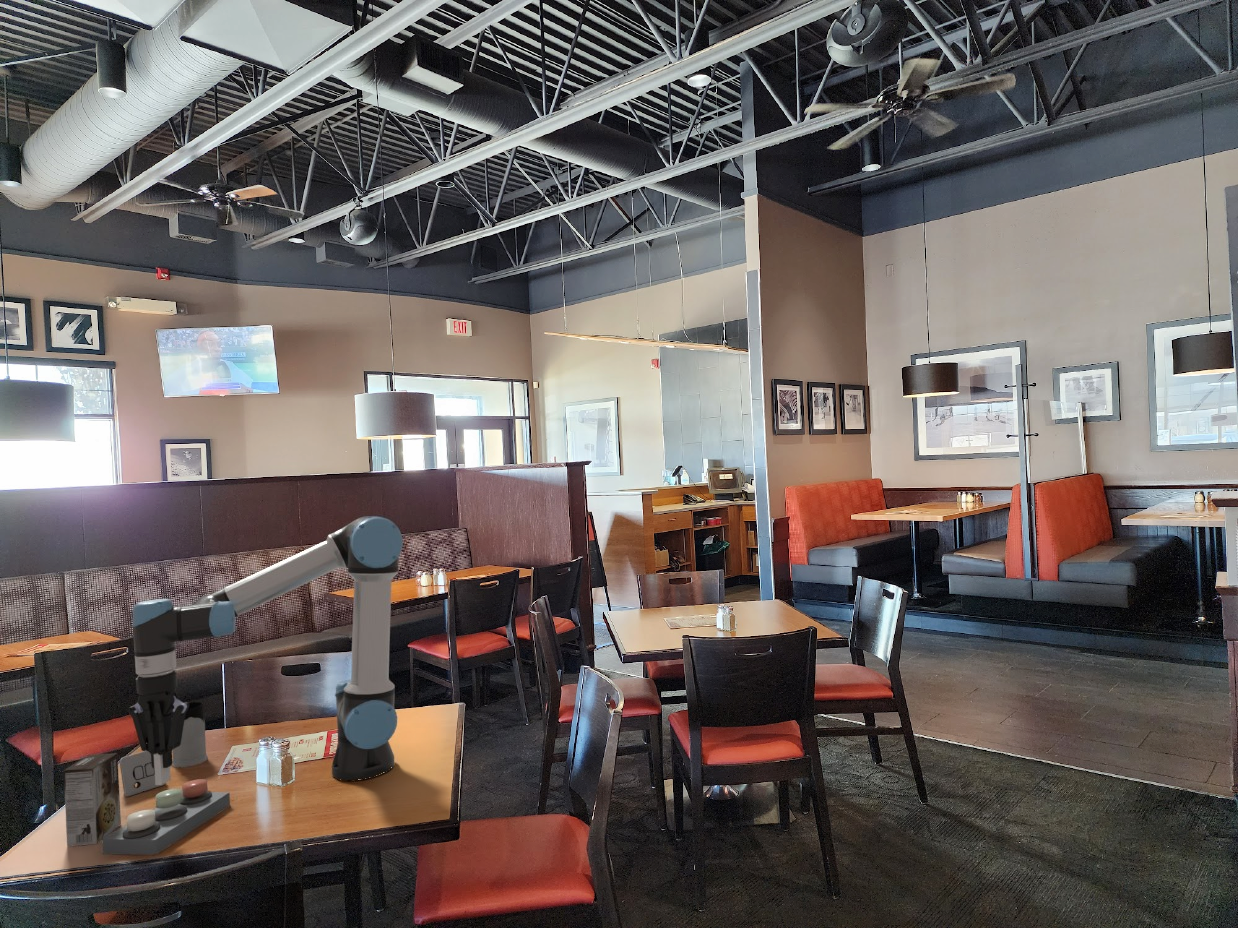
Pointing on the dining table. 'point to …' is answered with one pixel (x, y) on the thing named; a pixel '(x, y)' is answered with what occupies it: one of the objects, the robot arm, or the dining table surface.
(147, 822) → the cream button
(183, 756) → the glass holder
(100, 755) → the cookie box
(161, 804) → the green button
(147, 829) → the button panel
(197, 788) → the red button
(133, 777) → the electrical switch
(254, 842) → the dining table surface
